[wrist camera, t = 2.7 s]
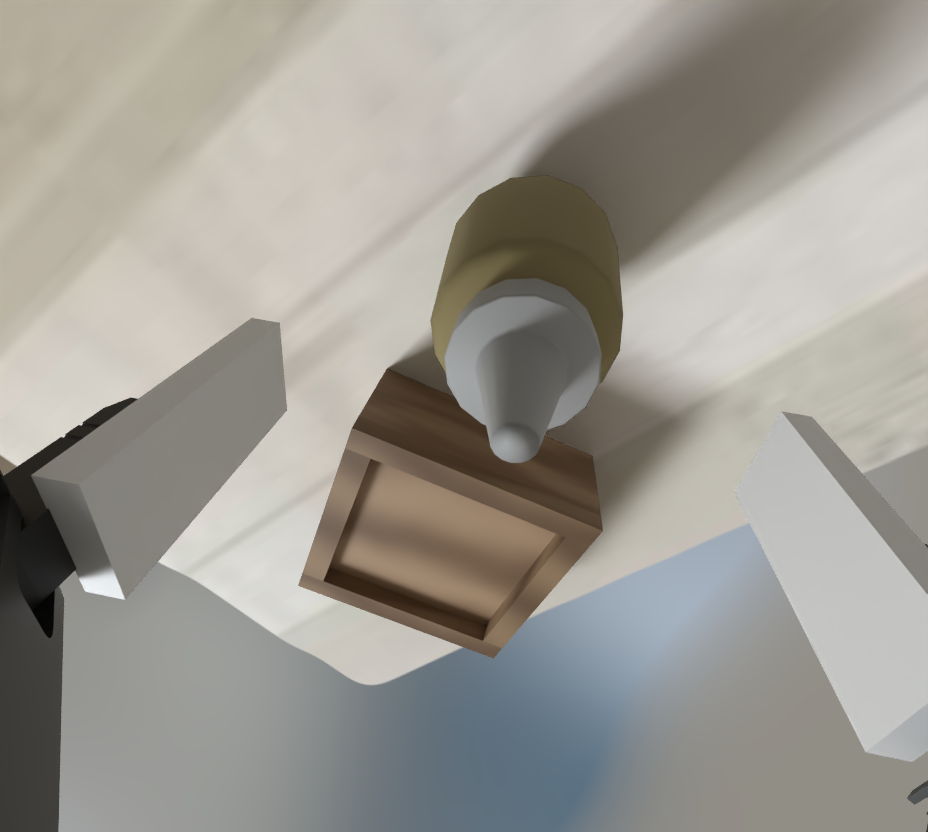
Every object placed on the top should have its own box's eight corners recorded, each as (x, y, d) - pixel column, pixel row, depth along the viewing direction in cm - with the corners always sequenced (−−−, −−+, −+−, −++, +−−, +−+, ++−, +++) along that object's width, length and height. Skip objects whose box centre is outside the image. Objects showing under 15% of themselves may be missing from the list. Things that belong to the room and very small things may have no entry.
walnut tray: (388, 366, 32) (351, 428, 26) (592, 453, 33) (602, 530, 27) (335, 513, 40) (298, 585, 34) (500, 577, 41) (493, 658, 35)
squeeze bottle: (553, 127, 23) (572, 171, 8) (637, 265, 26) (765, 486, 11) (428, 233, 27) (277, 402, 12) (513, 345, 29) (482, 597, 14)
